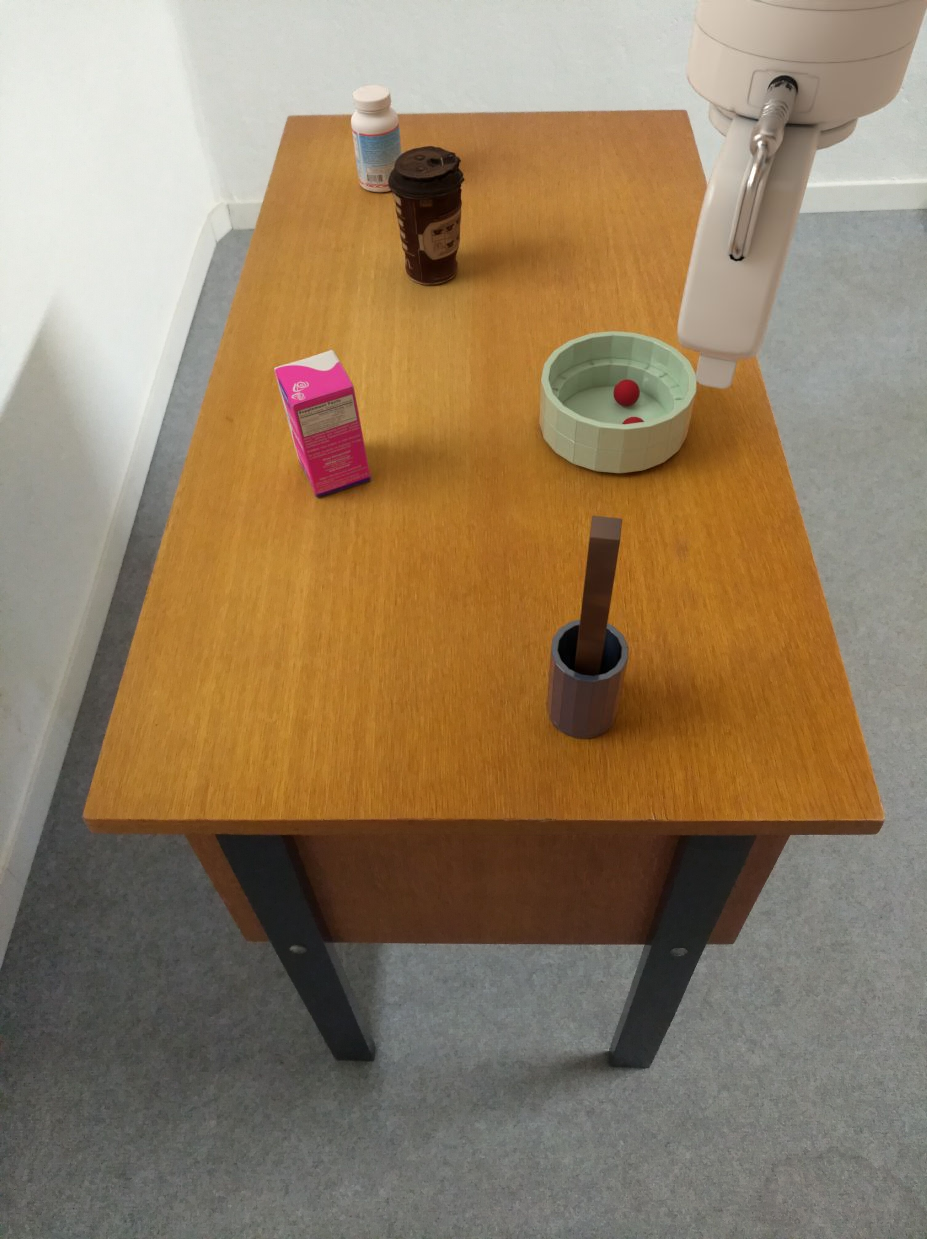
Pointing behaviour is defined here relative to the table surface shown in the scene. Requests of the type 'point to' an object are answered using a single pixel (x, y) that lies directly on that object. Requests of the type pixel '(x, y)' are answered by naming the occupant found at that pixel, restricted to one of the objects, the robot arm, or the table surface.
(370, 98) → the pill bottle
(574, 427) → the bowl
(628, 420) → the berry
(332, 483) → the supplement box
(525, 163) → the table surface
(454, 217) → the coffee cup
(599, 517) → the stirring stick
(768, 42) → the robot arm
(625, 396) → the berry
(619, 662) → the stick holder
